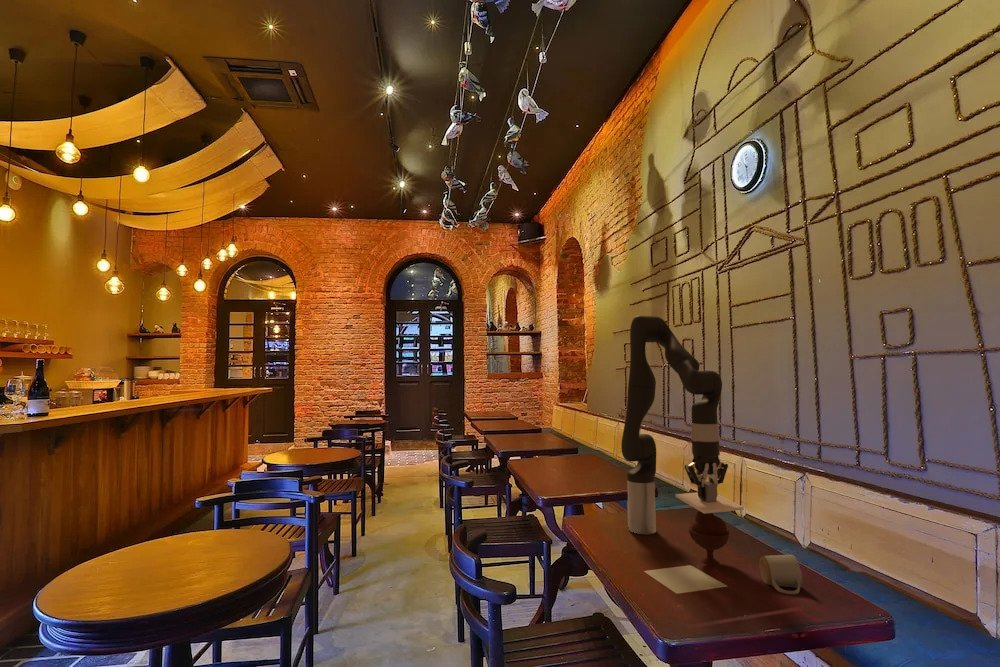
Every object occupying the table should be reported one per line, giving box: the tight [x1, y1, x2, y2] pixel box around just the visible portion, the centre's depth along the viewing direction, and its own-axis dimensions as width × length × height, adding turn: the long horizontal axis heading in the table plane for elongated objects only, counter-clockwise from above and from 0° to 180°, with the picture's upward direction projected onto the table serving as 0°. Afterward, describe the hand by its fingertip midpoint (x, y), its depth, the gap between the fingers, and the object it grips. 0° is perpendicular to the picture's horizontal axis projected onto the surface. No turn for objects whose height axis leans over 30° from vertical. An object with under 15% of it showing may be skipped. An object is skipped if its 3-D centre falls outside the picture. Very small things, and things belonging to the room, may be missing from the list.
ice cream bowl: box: [688, 510, 730, 566], centre depth 146 cm, size 11×11×15 cm
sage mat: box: [643, 564, 728, 595], centre depth 134 cm, size 15×15×1 cm
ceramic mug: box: [758, 554, 803, 595], centre depth 129 cm, size 11×8×8 cm
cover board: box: [675, 480, 745, 514], centre depth 146 cm, size 13×13×6 cm
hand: (707, 498), depth 147 cm, fingers closed on cover board, 3 cm apart
